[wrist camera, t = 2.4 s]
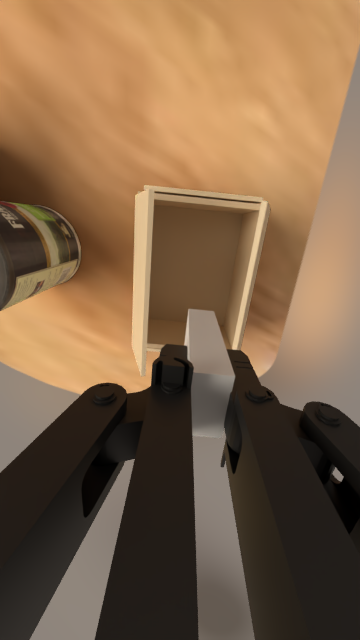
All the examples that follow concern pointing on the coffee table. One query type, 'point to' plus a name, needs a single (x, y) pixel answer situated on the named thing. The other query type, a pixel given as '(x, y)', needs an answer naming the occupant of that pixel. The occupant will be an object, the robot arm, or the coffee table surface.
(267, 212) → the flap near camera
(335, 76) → the coffee table surface
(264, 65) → the coffee table surface
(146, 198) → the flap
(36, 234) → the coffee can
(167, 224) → the carton
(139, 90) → the coffee table surface
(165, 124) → the coffee table surface
